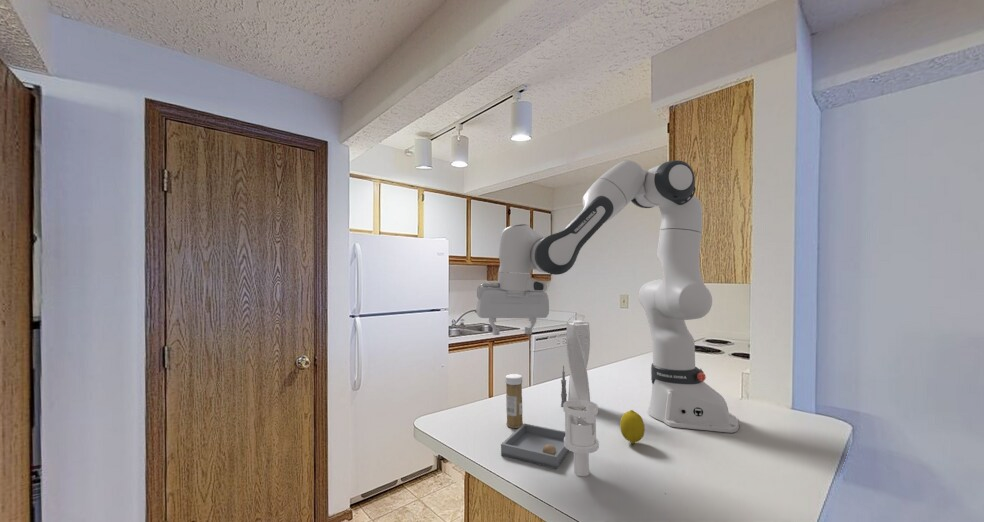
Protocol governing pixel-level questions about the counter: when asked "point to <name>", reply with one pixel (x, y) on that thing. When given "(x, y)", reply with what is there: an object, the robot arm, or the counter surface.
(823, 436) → the counter surface
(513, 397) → the sprinkles bottle
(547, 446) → the wooden ball
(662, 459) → the counter surface
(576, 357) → the skyscraper
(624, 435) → the lemon
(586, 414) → the white hollow mechanical part
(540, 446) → the tray
